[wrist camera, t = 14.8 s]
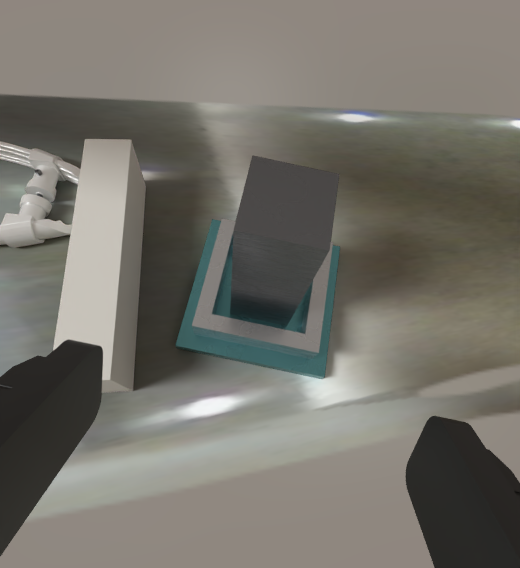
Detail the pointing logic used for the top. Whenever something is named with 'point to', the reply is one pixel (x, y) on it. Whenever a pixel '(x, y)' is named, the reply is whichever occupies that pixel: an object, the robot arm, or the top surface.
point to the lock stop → (280, 238)
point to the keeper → (250, 332)
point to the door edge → (105, 259)
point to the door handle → (35, 197)
